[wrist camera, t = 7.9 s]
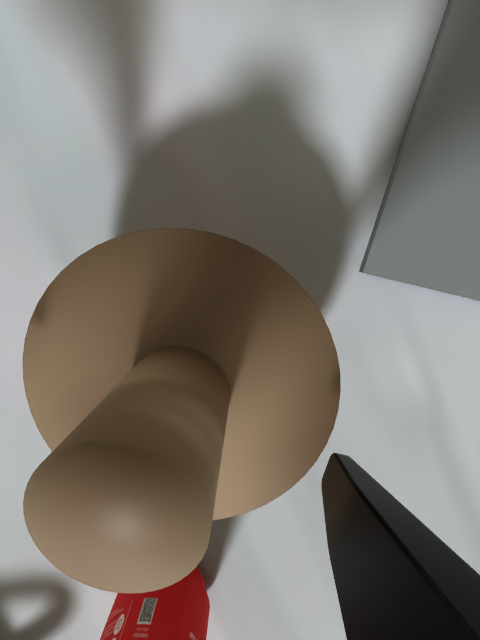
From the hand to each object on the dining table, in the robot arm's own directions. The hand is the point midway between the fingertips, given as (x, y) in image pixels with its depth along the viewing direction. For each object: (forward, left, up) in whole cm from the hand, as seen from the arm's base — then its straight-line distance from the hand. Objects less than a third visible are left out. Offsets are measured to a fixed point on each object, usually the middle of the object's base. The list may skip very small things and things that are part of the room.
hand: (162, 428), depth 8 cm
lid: (0, 0, -2) cm, 3 cm away
